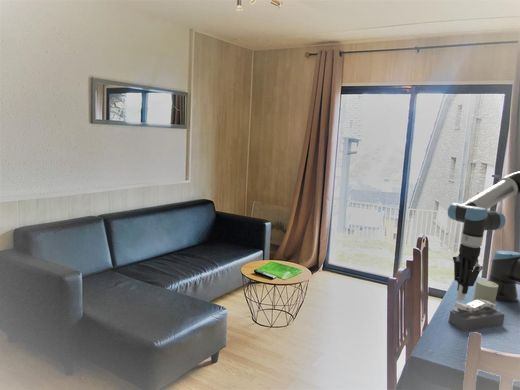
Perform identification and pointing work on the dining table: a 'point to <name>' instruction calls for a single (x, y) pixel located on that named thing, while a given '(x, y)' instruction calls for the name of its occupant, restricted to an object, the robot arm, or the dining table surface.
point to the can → (485, 291)
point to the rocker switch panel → (476, 318)
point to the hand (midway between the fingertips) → (460, 299)
